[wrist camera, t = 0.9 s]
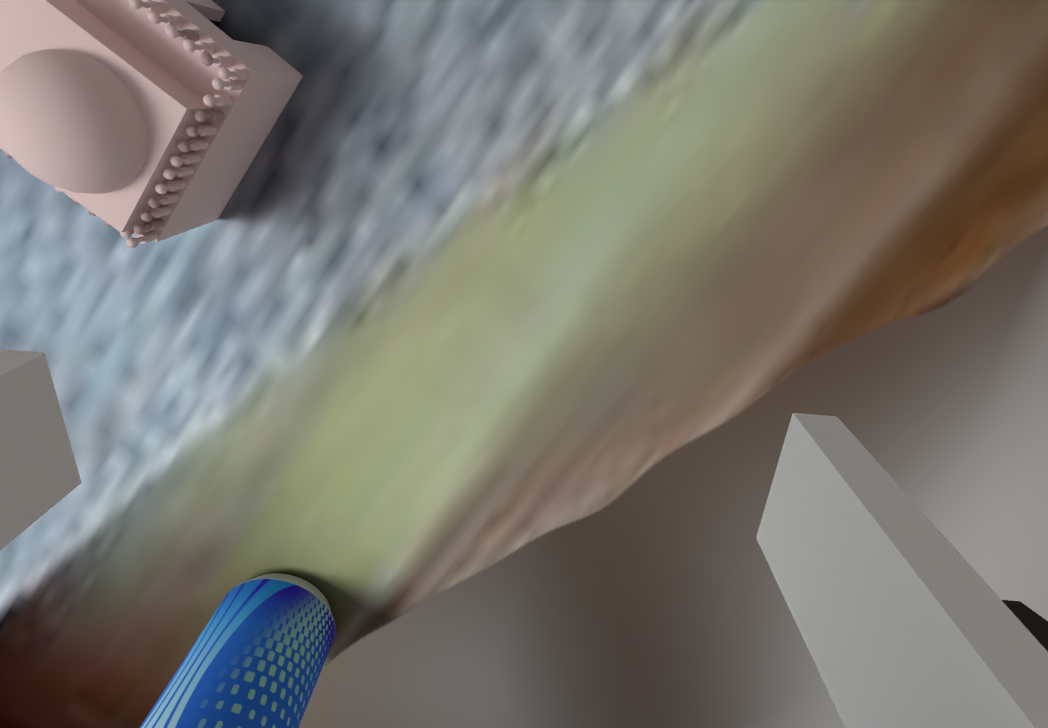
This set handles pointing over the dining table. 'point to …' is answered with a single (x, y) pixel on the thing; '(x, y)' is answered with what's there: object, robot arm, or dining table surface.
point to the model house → (136, 107)
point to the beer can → (252, 659)
